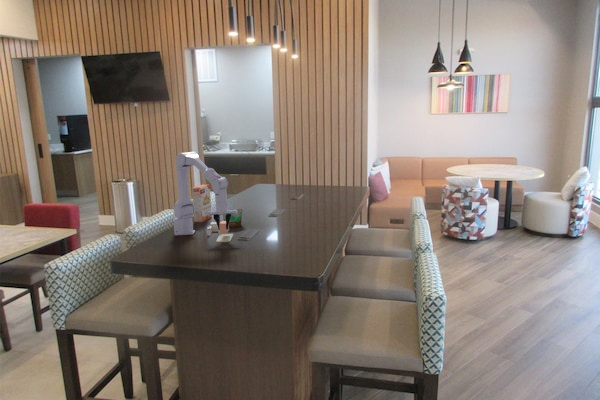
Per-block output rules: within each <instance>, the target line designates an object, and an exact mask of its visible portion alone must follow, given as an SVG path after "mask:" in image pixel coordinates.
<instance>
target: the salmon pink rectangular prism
mask: <svg viewBox="0 0 600 400" xmlns="http://www.w3.org/2000/svg"><path fill="white" fill-rule="evenodd" d="M220 222H221V223H220V224H219V227H220V234H228V232H229V231H230V228H229V225H228V229H227V230H226V221H224V220H222V221H220Z"/></svg>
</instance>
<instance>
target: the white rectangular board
mask: <svg viewBox="0 0 600 400" xmlns="http://www.w3.org/2000/svg"><path fill="white" fill-rule="evenodd" d="M233 237H234V233H226V234H220V235H219V234H218V237H217V239H216V241H215V243H231V241H232V240H233Z"/></svg>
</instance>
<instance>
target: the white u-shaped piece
mask: <svg viewBox="0 0 600 400" xmlns="http://www.w3.org/2000/svg"><path fill="white" fill-rule="evenodd" d="M221 222H222V221H220V223H221ZM206 231H207V233H206V234H207V236H208V237H209V236H211V235H212V233H213V232H214V233H216V232H218V236H219V235H220V230H219V229H218V226H217V223H216V221H214V222H213V221H212V222H210V223H209V227H208V228H207V229H206Z"/></svg>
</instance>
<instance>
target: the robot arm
mask: <svg viewBox="0 0 600 400" xmlns="http://www.w3.org/2000/svg"><path fill="white" fill-rule="evenodd" d="M175 164H176V165H175V168H176V179H177V192H178V193H177V194H178V200H177V201H176V202H175V203H174V208H173V213H174V218H173V230H174V236H188V235H189V236H191V235H194V233H195V232H196V230H195V229H194V223H193V217H194V212H195V208H194V205H193V200H192V199H190V189H189V187H190V186H189V176H188V170H189V169H190V167H191V166H194V167H195V168H196V169H198V170H199V171H200V172H201V173H203V178H205V179H206V180H207V181H208V183H210V184H211V185H210V186H211V188H212V190H213V193H214V198H215V210H211V211H208V212H207V216H210V215H212V216H213V217H212V218H213V220H214V222H216V223H217V226H218V229H219V230H220V227H219V224H220V222H221V216H223V215H226V216H225V218H226V230H227V229H228V225H229V221H230V218H231V215H232V214H235V215H237V209H236V210H231V209H229V207H228V193H227V192H228V191H227V190H228V188H229V185H230V183H229V180H228V179H227V177H226V176H221V175H220V174H219V173H217V172H216V170H215V169H214V168H212V167H208V166H207V165H206V164H205V163H204V162H203V161H202V160H201V159H200V155H199V154H198V153H197V152H196V151H189V152H187V151H186V152H178V153H177V155H176V156H175Z"/></svg>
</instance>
